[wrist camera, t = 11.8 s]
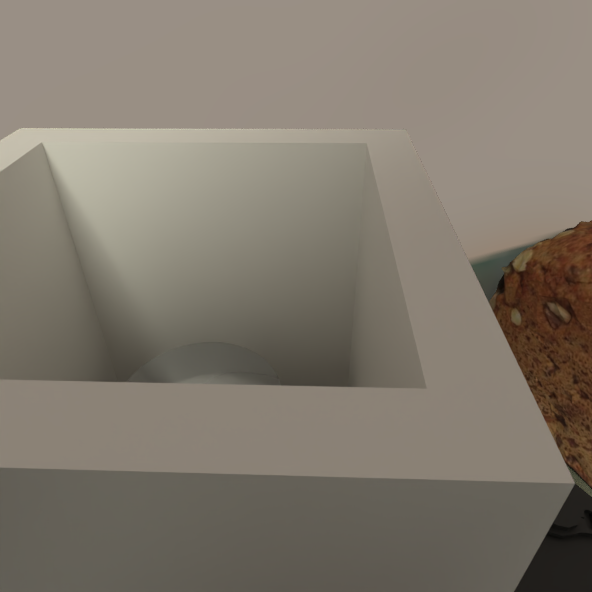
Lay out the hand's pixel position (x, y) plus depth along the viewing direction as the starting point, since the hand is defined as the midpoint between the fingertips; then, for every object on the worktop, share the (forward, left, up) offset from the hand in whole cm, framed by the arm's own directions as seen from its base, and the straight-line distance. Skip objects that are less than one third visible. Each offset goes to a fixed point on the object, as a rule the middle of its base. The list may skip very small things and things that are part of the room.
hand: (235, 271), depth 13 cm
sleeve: (+2, +5, -6) cm, 8 cm away
